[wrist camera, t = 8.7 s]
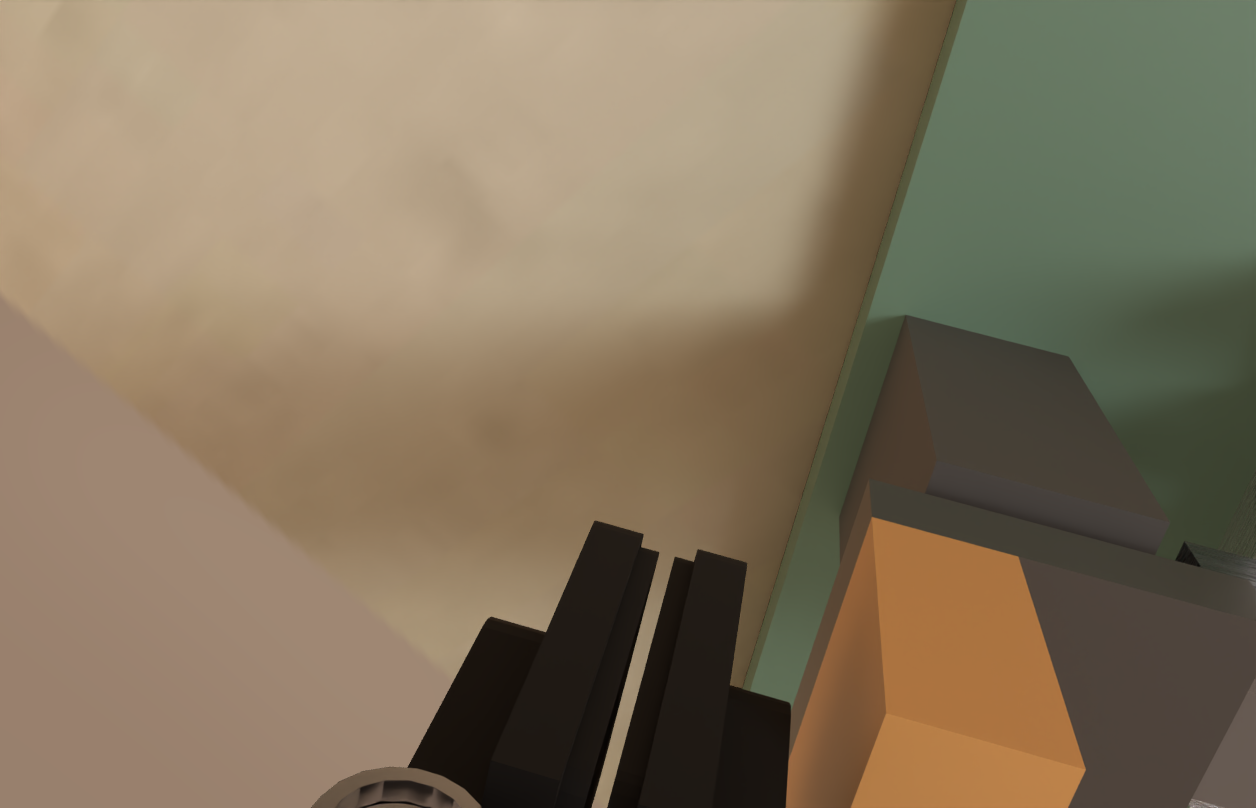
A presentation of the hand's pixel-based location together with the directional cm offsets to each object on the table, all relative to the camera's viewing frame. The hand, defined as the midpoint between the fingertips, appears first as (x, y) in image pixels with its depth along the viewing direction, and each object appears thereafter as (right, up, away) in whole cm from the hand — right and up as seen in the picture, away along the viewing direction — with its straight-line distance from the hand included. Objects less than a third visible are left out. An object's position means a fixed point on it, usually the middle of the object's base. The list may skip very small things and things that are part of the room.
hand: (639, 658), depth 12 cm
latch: (+4, 0, +2) cm, 5 cm away
